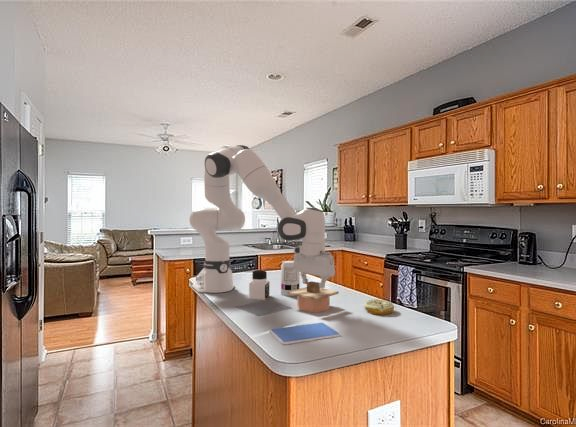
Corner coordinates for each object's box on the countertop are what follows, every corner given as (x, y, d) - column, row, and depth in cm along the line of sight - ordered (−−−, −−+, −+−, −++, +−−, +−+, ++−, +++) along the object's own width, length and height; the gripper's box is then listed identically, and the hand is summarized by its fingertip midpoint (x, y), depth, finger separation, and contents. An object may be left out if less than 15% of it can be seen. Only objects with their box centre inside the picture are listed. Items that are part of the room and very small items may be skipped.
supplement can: (277, 295, 156) (277, 261, 156) (289, 292, 162) (289, 259, 162) (290, 298, 151) (290, 263, 151) (303, 295, 157) (303, 261, 157)
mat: (234, 307, 136) (234, 306, 136) (267, 301, 146) (267, 299, 146) (258, 317, 124) (258, 316, 124) (292, 309, 134) (292, 308, 134)
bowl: (291, 308, 136) (291, 293, 136) (313, 302, 144) (313, 288, 144) (312, 315, 127) (313, 299, 127) (335, 309, 134) (335, 294, 134)
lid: (287, 293, 135) (287, 282, 135) (310, 288, 145) (310, 277, 145) (316, 300, 125) (316, 288, 125) (338, 293, 136) (338, 282, 136)
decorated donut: (359, 312, 132) (359, 302, 132) (373, 306, 140) (373, 296, 140) (384, 317, 125) (384, 307, 125) (398, 311, 133) (398, 301, 133)
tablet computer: (322, 325, 117) (322, 321, 117) (342, 338, 106) (342, 333, 106) (268, 333, 110) (268, 328, 110) (283, 347, 98) (283, 342, 98)
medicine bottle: (265, 301, 146) (265, 272, 146) (248, 300, 148) (249, 271, 148) (269, 296, 153) (269, 269, 153) (253, 296, 155) (254, 268, 155)
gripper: (338, 251, 129) (338, 289, 129) (302, 247, 145) (302, 280, 145) (326, 253, 125) (326, 291, 125) (290, 248, 141) (290, 282, 141)
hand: (313, 285), depth 135 cm, fingers open, 8 cm apart
